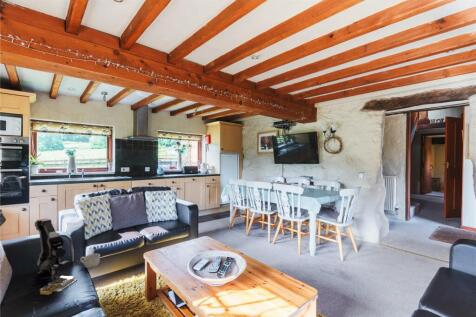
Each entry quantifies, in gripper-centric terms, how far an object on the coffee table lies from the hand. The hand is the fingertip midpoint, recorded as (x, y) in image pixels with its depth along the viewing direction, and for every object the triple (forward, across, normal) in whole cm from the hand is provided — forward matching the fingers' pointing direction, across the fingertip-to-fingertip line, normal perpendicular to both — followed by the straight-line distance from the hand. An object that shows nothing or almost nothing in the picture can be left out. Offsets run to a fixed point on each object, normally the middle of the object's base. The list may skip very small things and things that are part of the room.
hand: (54, 276), depth 163 cm
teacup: (+2, +11, +20) cm, 23 cm away
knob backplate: (+2, +10, -9) cm, 13 cm away
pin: (+2, 0, 0) cm, 2 cm away
